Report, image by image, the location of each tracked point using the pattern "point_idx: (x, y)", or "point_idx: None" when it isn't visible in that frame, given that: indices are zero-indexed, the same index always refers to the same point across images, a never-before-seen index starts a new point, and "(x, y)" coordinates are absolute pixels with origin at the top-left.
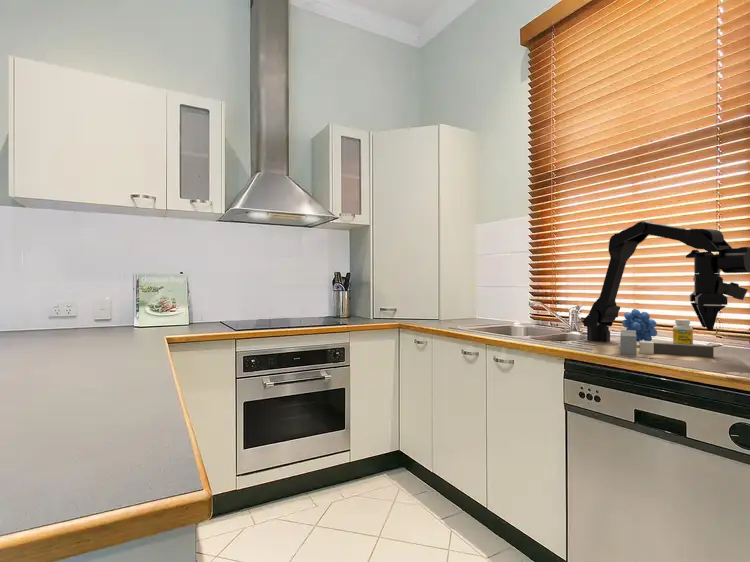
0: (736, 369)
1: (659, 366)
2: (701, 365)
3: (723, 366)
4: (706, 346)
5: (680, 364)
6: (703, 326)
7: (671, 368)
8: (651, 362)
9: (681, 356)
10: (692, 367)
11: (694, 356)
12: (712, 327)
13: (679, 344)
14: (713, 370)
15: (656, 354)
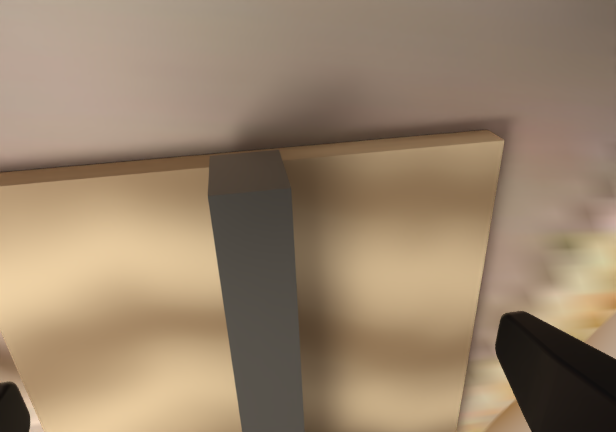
0: (528, 15)
1: None
2: None
3: (435, 86)
4: (279, 238)
5: None
6: (26, 419)
7: (599, 321)
8: None
9: (334, 322)
10: (541, 246)
11: None
12: (557, 338)
13: (268, 396)
14: (604, 152)
15: (329, 424)
